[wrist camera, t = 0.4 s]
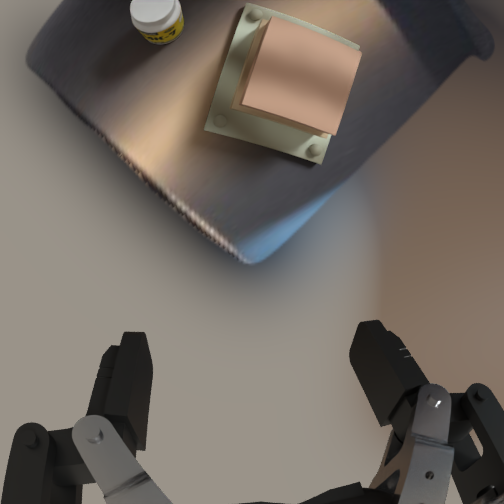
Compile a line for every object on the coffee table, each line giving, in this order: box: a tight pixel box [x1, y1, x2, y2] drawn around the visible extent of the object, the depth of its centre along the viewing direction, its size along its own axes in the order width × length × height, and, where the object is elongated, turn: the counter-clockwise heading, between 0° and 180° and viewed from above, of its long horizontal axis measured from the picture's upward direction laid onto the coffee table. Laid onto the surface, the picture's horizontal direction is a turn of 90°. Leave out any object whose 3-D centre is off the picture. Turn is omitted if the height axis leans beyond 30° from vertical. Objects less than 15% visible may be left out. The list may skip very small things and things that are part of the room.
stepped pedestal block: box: [204, 3, 362, 164], centre depth 27 cm, size 16×14×8 cm
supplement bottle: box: [130, 0, 184, 45], centre depth 22 cm, size 5×5×8 cm
